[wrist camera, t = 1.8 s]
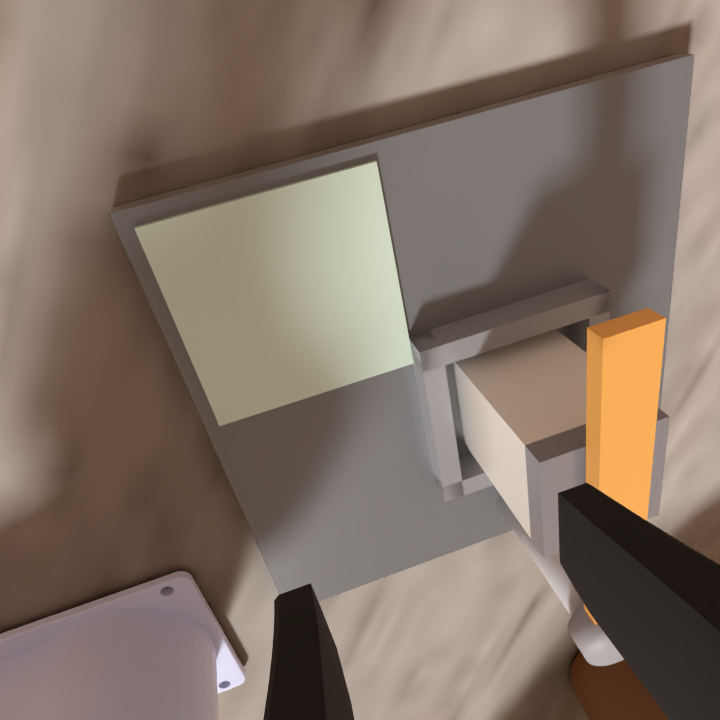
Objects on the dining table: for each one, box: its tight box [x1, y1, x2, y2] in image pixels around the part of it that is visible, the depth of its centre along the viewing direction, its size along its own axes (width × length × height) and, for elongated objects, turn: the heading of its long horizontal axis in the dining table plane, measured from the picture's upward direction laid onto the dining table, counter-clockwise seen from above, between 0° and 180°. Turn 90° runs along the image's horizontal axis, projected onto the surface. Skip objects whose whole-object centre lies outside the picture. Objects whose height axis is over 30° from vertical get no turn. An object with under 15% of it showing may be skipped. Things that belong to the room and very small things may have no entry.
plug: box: [453, 329, 669, 558], centre depth 19 cm, size 4×4×6 cm
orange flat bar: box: [568, 308, 666, 666], centre depth 16 cm, size 3×13×1 cm, turn 11°
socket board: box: [109, 54, 694, 617], centre depth 19 cm, size 18×18×7 cm
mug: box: [570, 651, 669, 720], centre depth 31 cm, size 12×8×9 cm, turn 146°
